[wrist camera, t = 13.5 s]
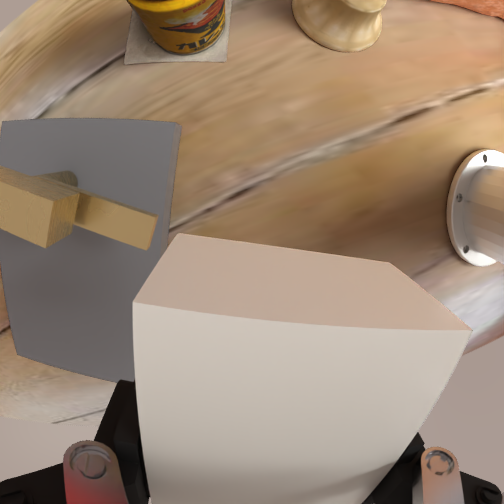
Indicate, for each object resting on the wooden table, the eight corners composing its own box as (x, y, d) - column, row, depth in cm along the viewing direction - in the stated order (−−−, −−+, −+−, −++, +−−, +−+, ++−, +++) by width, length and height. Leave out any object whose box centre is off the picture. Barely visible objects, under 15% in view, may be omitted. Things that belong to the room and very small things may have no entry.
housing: (181, 126, 23) (175, 122, 20) (161, 371, 29) (156, 390, 27) (20, 122, 21) (2, 121, 18) (29, 340, 28) (17, 354, 25)
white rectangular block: (389, 262, 9) (473, 330, 5) (306, 469, 11) (322, 541, 8) (177, 232, 8) (132, 301, 4) (170, 462, 11) (159, 539, 7)
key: (32, 156, 19) (-43, 165, 11) (172, 201, 21) (137, 231, 13) (26, 185, 20) (-48, 205, 12) (162, 233, 22) (125, 279, 14)
